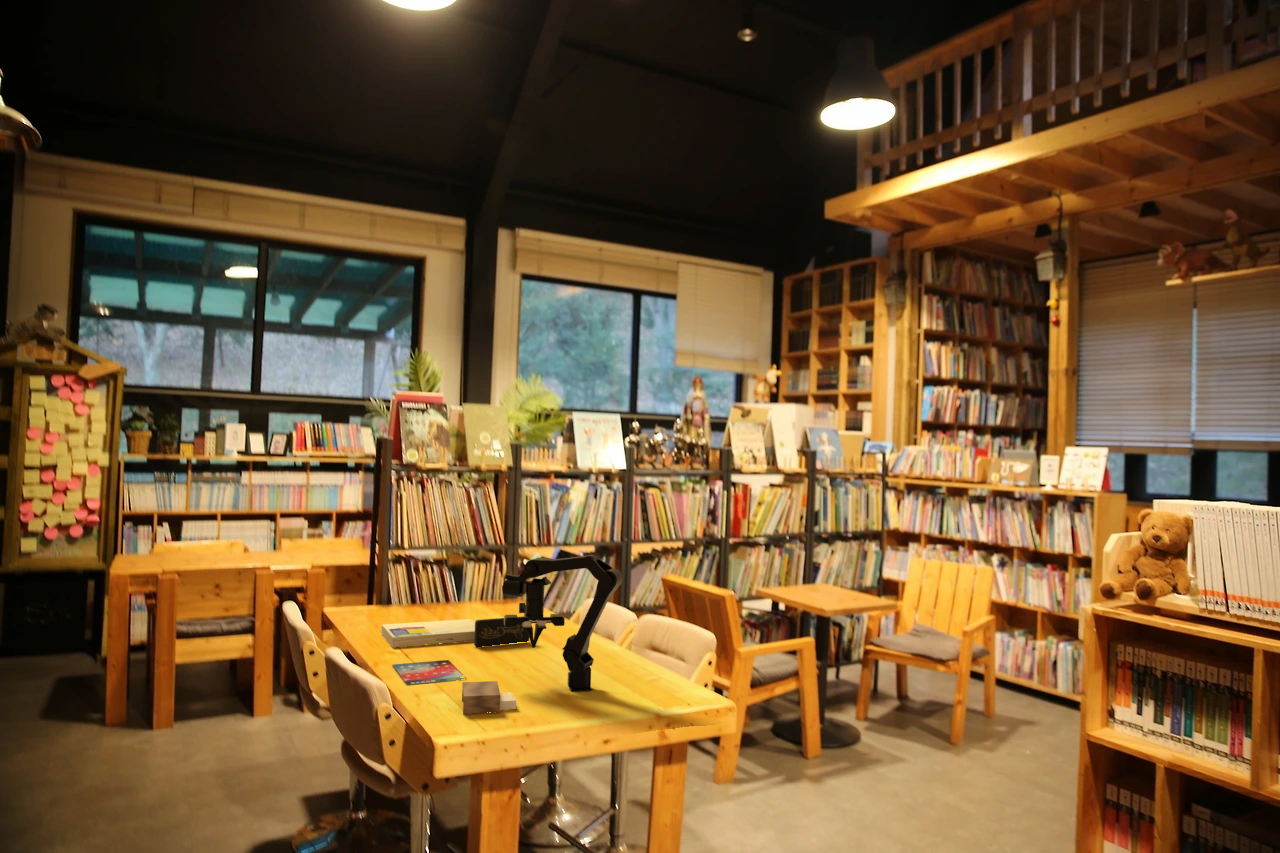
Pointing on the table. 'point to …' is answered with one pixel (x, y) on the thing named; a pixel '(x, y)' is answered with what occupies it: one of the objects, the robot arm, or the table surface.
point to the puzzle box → (428, 632)
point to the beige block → (507, 701)
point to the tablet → (427, 672)
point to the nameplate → (498, 633)
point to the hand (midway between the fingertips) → (533, 647)
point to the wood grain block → (480, 697)
